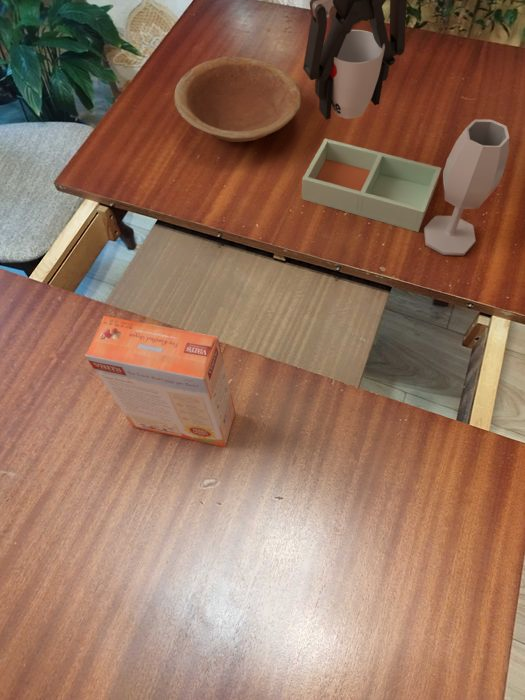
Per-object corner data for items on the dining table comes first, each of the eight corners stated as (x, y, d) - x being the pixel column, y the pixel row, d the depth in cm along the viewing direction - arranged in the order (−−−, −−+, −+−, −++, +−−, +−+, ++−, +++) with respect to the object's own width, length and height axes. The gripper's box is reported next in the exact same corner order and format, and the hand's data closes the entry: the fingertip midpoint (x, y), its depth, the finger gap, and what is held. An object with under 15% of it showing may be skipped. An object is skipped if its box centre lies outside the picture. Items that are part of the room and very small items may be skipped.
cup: (325, 91, 88) (329, 28, 79) (376, 93, 87) (385, 30, 78) (321, 124, 84) (324, 61, 75) (374, 126, 83) (383, 64, 74)
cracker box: (237, 410, 78) (220, 334, 60) (225, 449, 75) (204, 382, 57) (145, 390, 80) (103, 311, 62) (131, 427, 77) (82, 356, 59)
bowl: (262, 183, 100) (260, 148, 93) (158, 144, 107) (149, 108, 100) (320, 109, 110) (322, 72, 103) (221, 77, 116) (217, 40, 109)
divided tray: (435, 188, 97) (441, 167, 93) (418, 232, 92) (424, 212, 88) (323, 159, 102) (324, 138, 98) (301, 199, 98) (302, 178, 93)
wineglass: (429, 212, 95) (462, 106, 76) (479, 225, 93) (526, 119, 74) (416, 249, 91) (447, 146, 72) (468, 263, 89) (514, 161, 71)
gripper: (426, -92, 69) (396, 76, 88) (276, -56, 66) (279, 110, 85) (458, -66, 65) (419, 103, 85) (300, -27, 62) (298, 139, 82)
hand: (349, 106), depth 85 cm, fingers closed on cup, 8 cm apart
